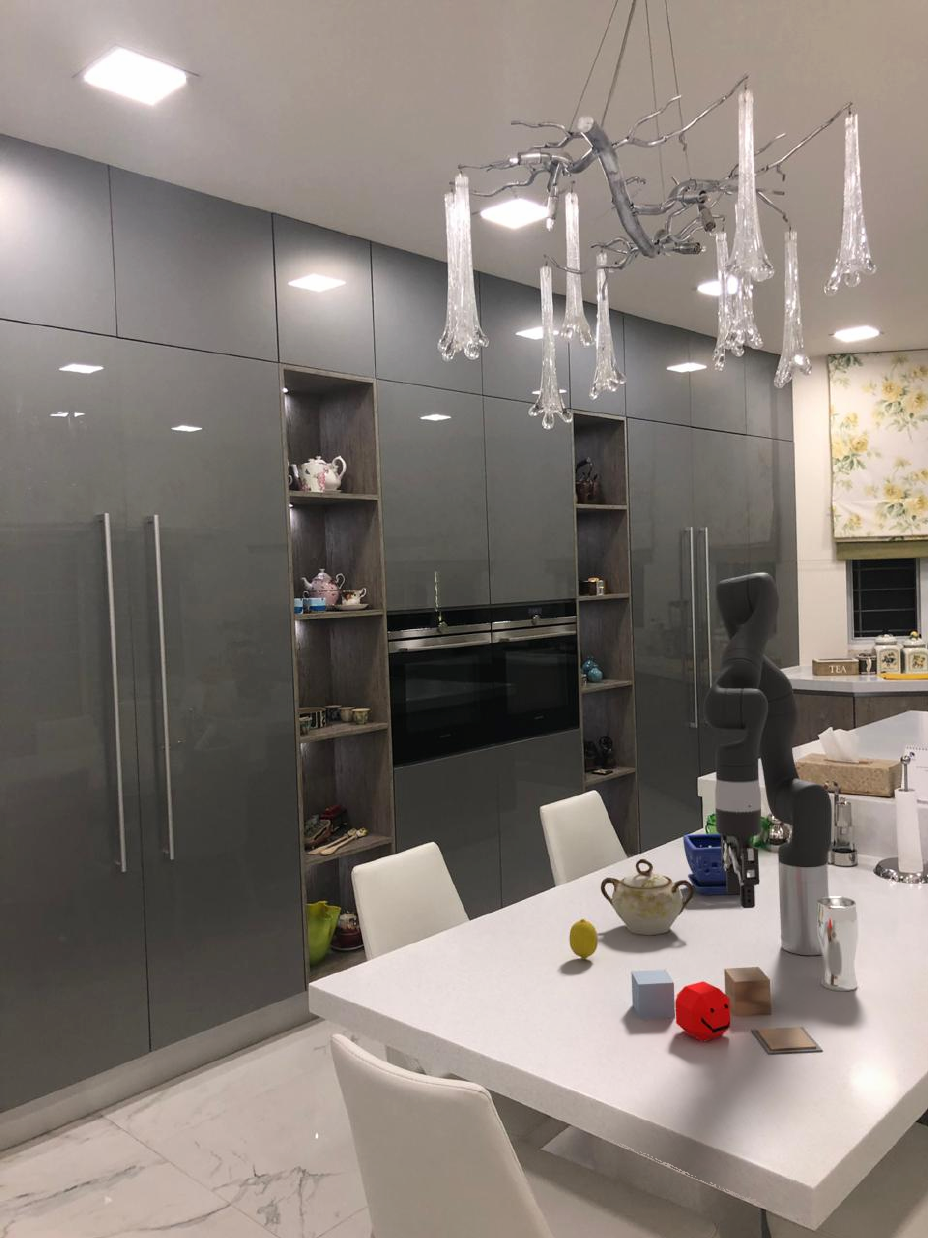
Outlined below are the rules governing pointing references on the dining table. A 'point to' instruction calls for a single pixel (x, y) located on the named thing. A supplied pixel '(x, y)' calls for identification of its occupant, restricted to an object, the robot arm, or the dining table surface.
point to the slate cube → (653, 994)
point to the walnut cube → (748, 991)
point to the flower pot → (705, 863)
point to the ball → (703, 1011)
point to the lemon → (583, 939)
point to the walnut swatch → (786, 1040)
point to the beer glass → (837, 941)
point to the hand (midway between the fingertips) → (740, 900)
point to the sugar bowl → (647, 900)
